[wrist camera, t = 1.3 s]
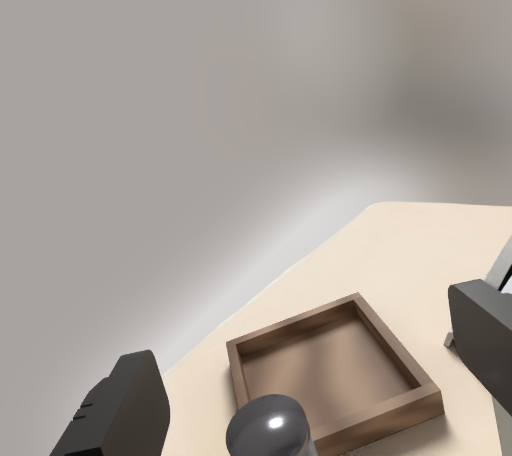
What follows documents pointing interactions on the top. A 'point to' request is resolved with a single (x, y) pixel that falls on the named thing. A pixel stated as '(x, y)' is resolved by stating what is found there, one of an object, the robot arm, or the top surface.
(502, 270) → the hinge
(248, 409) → the steel canister
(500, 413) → the skincare box
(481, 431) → the top surface
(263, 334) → the walnut tray
